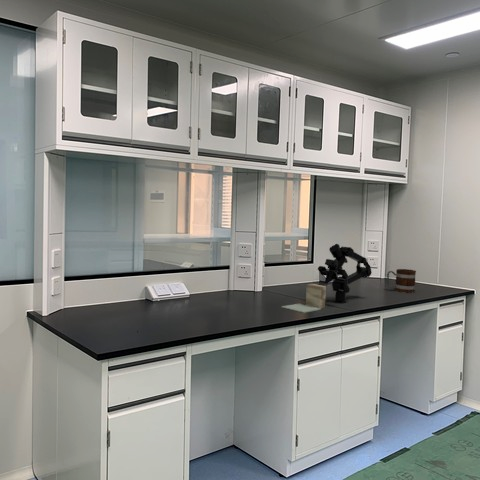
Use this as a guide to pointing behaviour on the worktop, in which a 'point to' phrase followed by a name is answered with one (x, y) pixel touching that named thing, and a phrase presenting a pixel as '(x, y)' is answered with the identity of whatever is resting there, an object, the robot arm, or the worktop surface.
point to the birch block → (315, 295)
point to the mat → (301, 308)
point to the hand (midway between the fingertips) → (325, 283)
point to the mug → (404, 280)
